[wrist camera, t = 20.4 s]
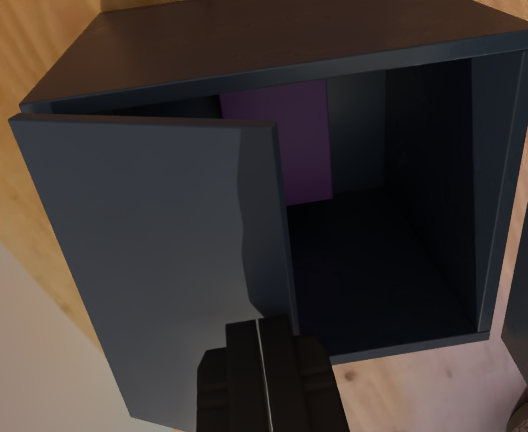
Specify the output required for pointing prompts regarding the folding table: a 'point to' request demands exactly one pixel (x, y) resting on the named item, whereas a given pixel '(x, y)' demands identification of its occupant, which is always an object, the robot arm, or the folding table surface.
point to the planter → (519, 420)
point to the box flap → (165, 239)
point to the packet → (293, 133)
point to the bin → (352, 147)
